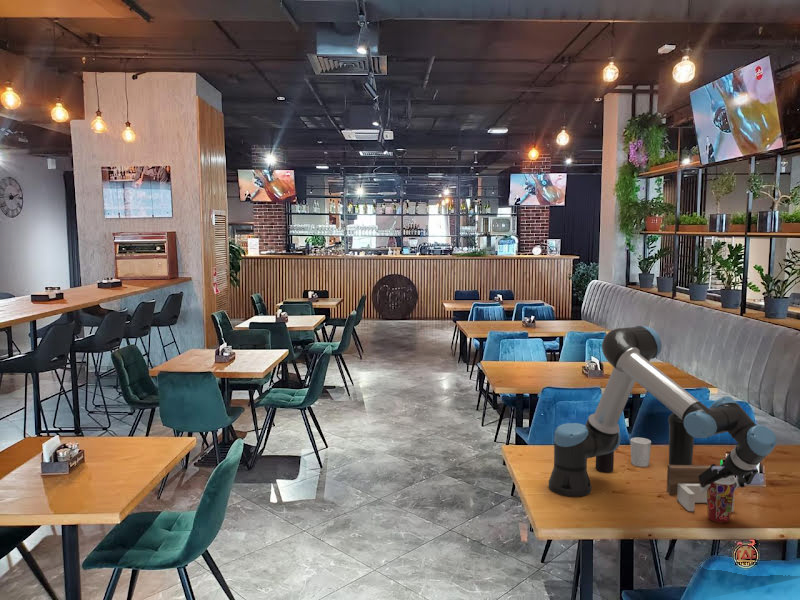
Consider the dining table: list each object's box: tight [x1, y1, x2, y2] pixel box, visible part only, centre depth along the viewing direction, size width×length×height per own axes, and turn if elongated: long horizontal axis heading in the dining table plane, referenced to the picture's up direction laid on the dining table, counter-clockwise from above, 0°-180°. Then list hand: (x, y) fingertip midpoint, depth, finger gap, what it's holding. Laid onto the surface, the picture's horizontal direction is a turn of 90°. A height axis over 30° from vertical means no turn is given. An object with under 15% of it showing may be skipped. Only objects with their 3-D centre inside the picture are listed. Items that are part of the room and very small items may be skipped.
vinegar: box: [595, 451, 615, 474], centre depth 242 cm, size 7×7×20 cm
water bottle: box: [667, 412, 695, 465], centre depth 246 cm, size 10×10×23 cm
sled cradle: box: [676, 484, 735, 513], centre depth 209 cm, size 9×15×6 cm, turn 88°
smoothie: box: [706, 459, 735, 524], centre depth 198 cm, size 8×8×20 cm
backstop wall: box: [666, 464, 712, 496], centre depth 220 cm, size 3×16×10 cm, turn 88°
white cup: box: [630, 437, 652, 468], centre depth 249 cm, size 8×8×10 cm
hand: (715, 489), depth 202 cm, fingers closed on smoothie, 8 cm apart
